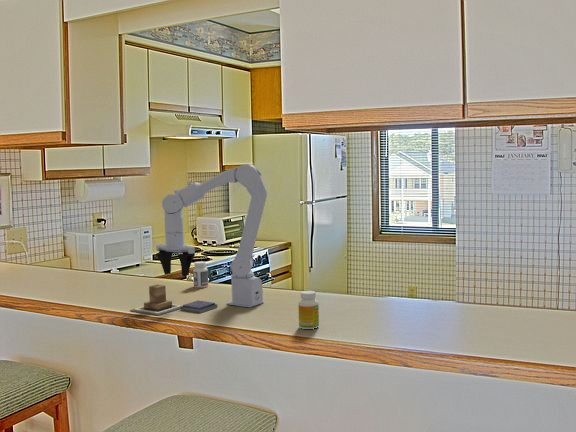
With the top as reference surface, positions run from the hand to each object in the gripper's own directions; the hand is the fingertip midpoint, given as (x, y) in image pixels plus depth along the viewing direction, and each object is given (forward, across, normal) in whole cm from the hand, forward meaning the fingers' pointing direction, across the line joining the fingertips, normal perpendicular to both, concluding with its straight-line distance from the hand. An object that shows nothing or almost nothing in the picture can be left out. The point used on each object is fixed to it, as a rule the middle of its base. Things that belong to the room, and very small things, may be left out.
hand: (176, 274), depth 201 cm
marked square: (+10, -1, -8) cm, 12 cm away
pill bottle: (+10, -12, +25) cm, 30 cm away
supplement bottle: (+10, +51, -4) cm, 52 cm away
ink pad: (+10, +10, -1) cm, 14 cm away
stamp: (+9, -1, -8) cm, 12 cm away
